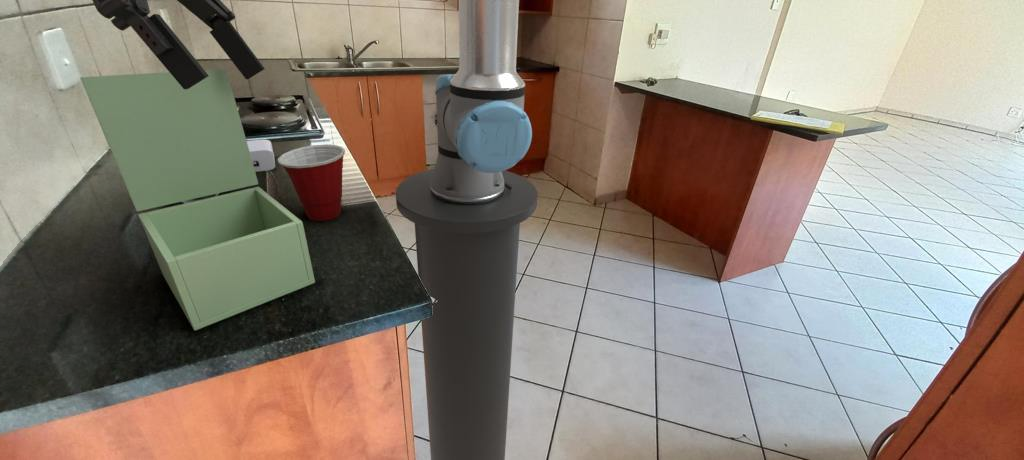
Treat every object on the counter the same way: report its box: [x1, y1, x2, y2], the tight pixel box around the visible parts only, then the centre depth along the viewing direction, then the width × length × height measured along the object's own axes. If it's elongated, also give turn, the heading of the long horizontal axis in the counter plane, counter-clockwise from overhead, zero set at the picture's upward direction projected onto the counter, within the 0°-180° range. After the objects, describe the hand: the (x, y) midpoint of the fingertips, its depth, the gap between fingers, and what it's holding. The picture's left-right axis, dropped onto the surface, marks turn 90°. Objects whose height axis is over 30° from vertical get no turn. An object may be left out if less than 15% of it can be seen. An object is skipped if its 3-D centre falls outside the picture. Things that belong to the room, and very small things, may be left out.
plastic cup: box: [277, 143, 346, 222], centre depth 76 cm, size 11×11×12 cm
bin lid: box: [79, 68, 259, 212], centre depth 56 cm, size 16×15×1 cm
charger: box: [246, 139, 276, 173], centre depth 100 cm, size 5×9×15 cm
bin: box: [137, 186, 316, 331], centre depth 58 cm, size 16×15×10 cm
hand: (230, 78), depth 50 cm, fingers open, 13 cm apart
